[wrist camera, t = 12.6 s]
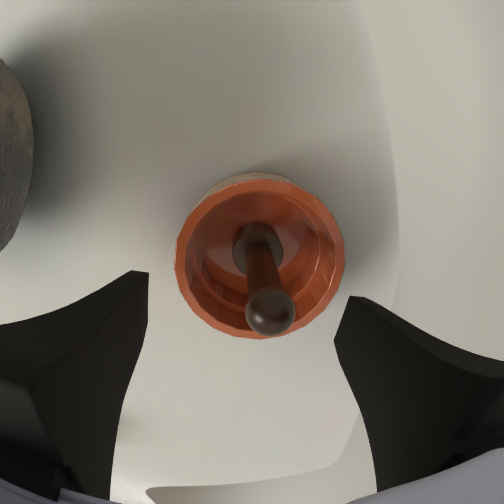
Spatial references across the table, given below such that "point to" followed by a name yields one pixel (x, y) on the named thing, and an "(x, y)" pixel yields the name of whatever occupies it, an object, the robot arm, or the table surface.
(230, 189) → the mixing bowl
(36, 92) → the table surface
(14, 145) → the grey flower pot
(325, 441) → the table surface
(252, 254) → the dark brown pestle
